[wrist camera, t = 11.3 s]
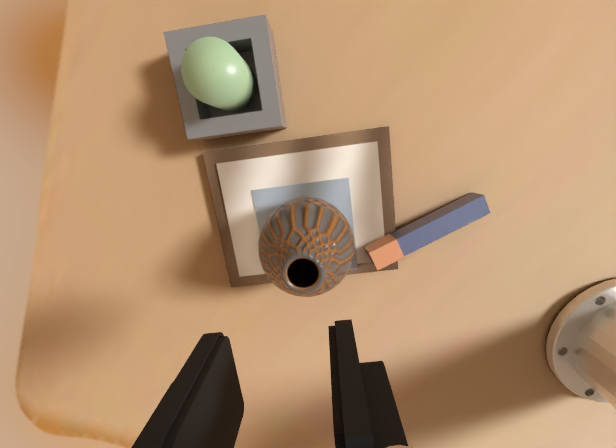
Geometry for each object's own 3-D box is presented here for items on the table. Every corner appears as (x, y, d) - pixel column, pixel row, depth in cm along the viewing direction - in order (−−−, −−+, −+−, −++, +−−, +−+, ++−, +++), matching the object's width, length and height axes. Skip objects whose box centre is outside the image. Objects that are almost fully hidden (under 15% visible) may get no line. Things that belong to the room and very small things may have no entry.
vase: (252, 239, 26) (219, 285, 17) (298, 173, 24) (287, 188, 16) (317, 283, 26) (316, 348, 18) (366, 223, 25) (390, 262, 16)
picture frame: (386, 126, 24) (389, 126, 23) (396, 265, 27) (398, 270, 26) (205, 152, 25) (201, 152, 24) (233, 283, 28) (230, 288, 27)
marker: (471, 191, 25) (484, 194, 23) (477, 209, 25) (491, 213, 24) (363, 246, 25) (369, 253, 24) (371, 263, 26) (377, 270, 24)
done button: (250, 51, 21) (236, 31, 18) (259, 107, 22) (247, 99, 19) (199, 59, 22) (174, 42, 18) (210, 114, 23) (189, 108, 19)
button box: (272, 31, 22) (265, 14, 20) (286, 128, 24) (281, 125, 21) (183, 46, 23) (163, 32, 20) (203, 140, 25) (187, 139, 22)
